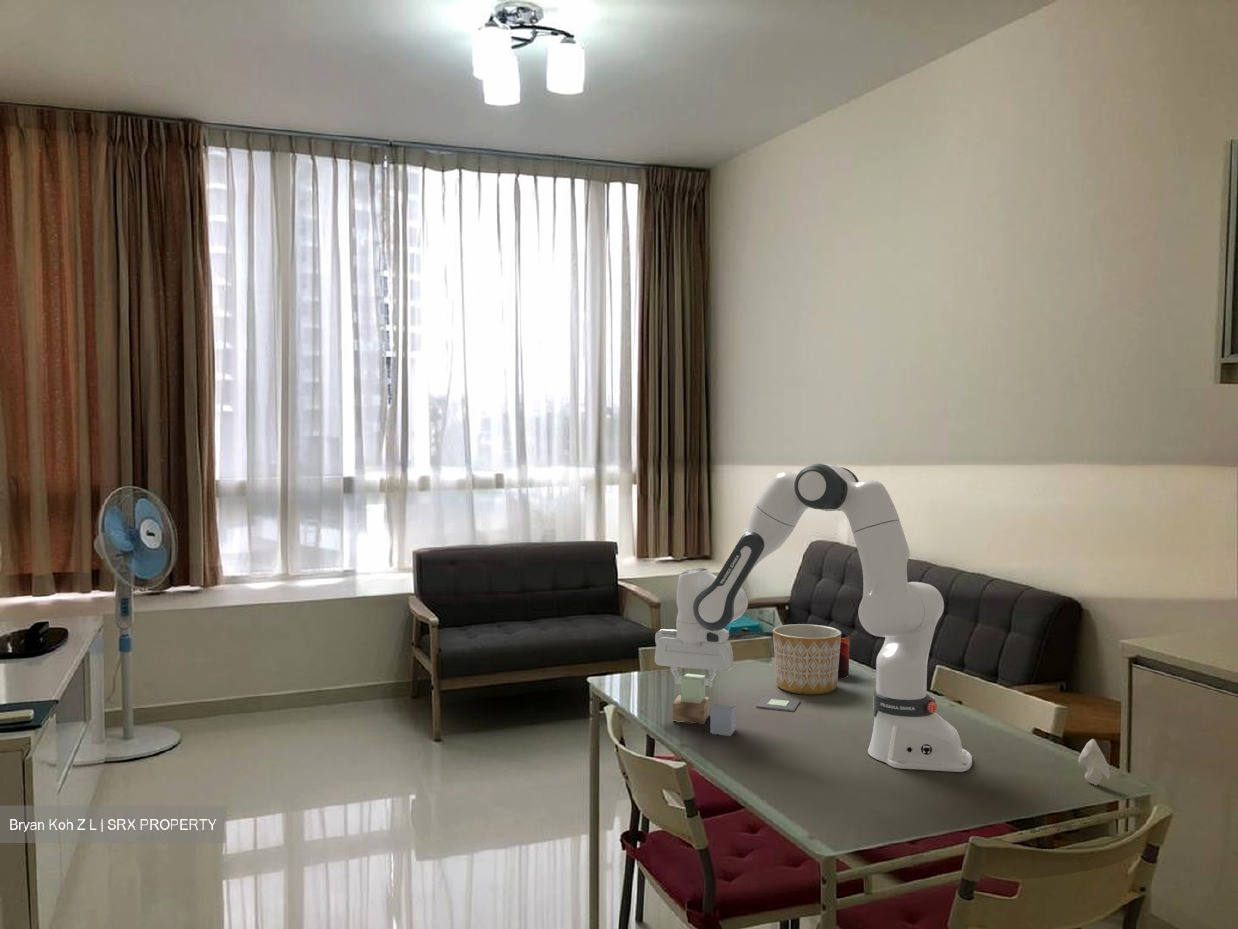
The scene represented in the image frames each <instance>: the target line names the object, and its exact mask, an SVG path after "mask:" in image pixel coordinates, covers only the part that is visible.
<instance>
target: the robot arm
mask: <svg viewBox="0 0 1238 929" xmlns="http://www.w3.org/2000/svg"><path fill="white" fill-rule="evenodd" d="M808 509H813V510H820V511H825V512H834V511H837V512H838V511H841V512H842V513H844V515H845V516H846V518H847V520H848V523H849V527H850V529H851V532H852V536H853V539H854V542H855V545H856V549H857V553H858V556H859V560H860V563H861V569H862V579H863V582H862V583H863V586H862V587H863V591H862V598H861V601H860V603H859V606H858V612H857V613H858V619H859V620H858V621H859V622H860V625H861V626H862V628H863V629H864V630H865V631H866V632H867V633H868V634H870V635H871V636H872V635H873V636H874V637H880V638H881V637H883V638H885V639H884V642H883V644H882V646H881V648H880V651H878V654H877V656H876V659H875V660H876V662H875V668H876V669H875V690H874V693H873V696H872V702H873V704H872V709H873V710H872V713H873V717H874V721H873V728H872V735H871V738H870V742H869V746H868V749H867V753H868V755H869V756H870V757H871V758H874V759H875V760H878V761H880V762H883V763H886V764H887V765H888V766H890V767H891V768H895V769H907V770H921V771H922V770H923V771H936V772H937V771H941V772H956V773H964V772H966V771H969V770H970V769H971V767H972V766H973V757H972V755H971V753H970V752H969V751H968V750H966V749H964V748H963V747H962V741H961V740H962V739H961V737H960V735H959V732H958V730H957V729H956V728H955V727H954V726H953V725H951V723H949V722H948V721H946V720H945V719H944V718H942V717H941V716H940V715H939V714H938V713H936V712H937V710H938V705H937V702H936V700H935V698H936V697H935V696H930V694H927V679H928V678H927V677H928V675H927V674H928V660H929V654H930V650H931V645H932V642H933V637H934V635H935V634H934V633H935V630H936V626H937V624H938V622H939V620H940V618H942V615H943V613H944V609H945V603H944V597H943V596H942V593H941V592H940V591H939V589H937V588H936V587H935V586H933V585H932V584H929V583H925V582H920V581H909V580H908V571H907V570H908V568H907V567H908V561H909V559H910V554H911V551H910V548H909V546H908V545H909V544H908V542H907V538H906V535H905V533H904V529H903V526H902V524H901V520H900V517H899V513H898V512H897V509H896V507H895V504H894V502H893V500H892V498H891V496H890V494H889V491H888V490H887V488H886V487H885V485H884V484H883V483H882V482H879V481H878V480H874V479H866V480H859V479H858V477H857V476H856V474H854V473H853V471H851V470H850V469H848V468H845V467H842V466H838V465H835V464H831V463H830V464H829V463H813V464H810V465H807V466H805V467H804V468H802V469H801V470H800V471H799V472H798V473H797V474H796V473H794V472H790V471H783V472H779V473H778V474H776V475H775V476H774V478H772V480H771V481H769V483H768V484H767V486H766V487H765V488H764V490H763V492H761V495H760V496H759V498H758V499H757V501H756V503H755V505H754V507H753V508H752V510H751V512H750V515H749V517H748V518H747V521H746V523H745V525H744V527H743V529H742V532H741V534H740V536H739V538H738V540H737V542H736V545H735V546H734V548H733V550H732V552H731V554H729V556H728V558H727V560H726V561H725V563H724V565H723V566H722V568H721V569H720V571H719V573H718V575H715V574H713V573H712V572H711V570H709V568H705V567H704V568H703V567H697V568H692V569H687V570H685V571H683V572H682V573H680V574H679V576H678V579H677V580H678V581H677V586H676V587H677V588H676V606H677V615H676V623H675V624H676V626H675V628H676V629H665V628H661V629H660V630H657V631H656V633H655V636H654V642H655V651H654V662H655V664H656V665H657V666H663V667H665V666H666V667H670V673H671V674H672V676H673V677H674V685H681V678H682V677H683V676H682V675H680V674H679V672H678V669H679V668H685V669H697V670H708V671H709V675H710V676H709V678H705V688H712V687H713V679H714V678H715V676H716V675H717V672H729V671H730V670H731V669H733V666H734V655H733V654H734V653H733V646H732V644H731V642H730V641H729V640H728V639H729V637H730V632H729V630H727V629H725V628H726V627H727V626H728V625H729V624H731V623H733V622H735V621H736V620H737V619H739V618H741V617H742V616H743V615H745V613H746V611H748V607H749V597H748V594H747V592H746V590H745V589H744V588H743V585H744V584H745V582H746V581H747V579H748V578H749V576H750V574H751V572H752V571H753V570H754V568H755V567H756V566H757V565H758V564H759V563H760V562H761V561H762V560H764V559H765V558H766V557H768V556H769V555H771V554H773V553H774V552H775V551H777V550H778V549H780V548H781V547H782V546H783V544H784V543H785V542H786V541H787V539H788V538H789V537H790V536H791V535H792V533H793V531H794V530H795V527H796V526H797V524H798V522H799V520H800V518H801V517H802V516H803V514H804V513H805V512H806V510H808Z"/></svg>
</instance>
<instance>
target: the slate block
mask: <svg viewBox="0 0 1238 929" xmlns="http://www.w3.org/2000/svg"><path fill="white" fill-rule="evenodd" d="M736 708H737V707H736V706H735V705H729V704H728V705H727V704H719V703H715V704H714V705H713V706H712V707H711V709H710V733H712V734H711V735H717V734H719V736H726V737H732V735H733V734H734V733H735V731H736V720H737V719H736V714H737V713H736V710H737V709H736Z"/></svg>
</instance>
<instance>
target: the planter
mask: <svg viewBox="0 0 1238 929" xmlns="http://www.w3.org/2000/svg"><path fill="white" fill-rule="evenodd" d="M841 633H842V631H841V630H839V629H838V628H836V627H832V626H827V625H820V624H819V625H818V624H810V623H809V624H808V623H807V624H806V623H801V624H800V623H797V624H784V625H783V624H782V625H778V626H776V627H774V628H773V629H772V636H773V638H772V639H773V640H772V642H773V653H774V670H775V671H774V672H775V682H776V685H777V686H778V687H779V688H780V689H781V690H783V691H785V692H788V693H792V694H797V695H810V696H812V695H813V696H815V695H824V694H829V693H832V692H833V691H834V690H835V689H836V688H837V686H838V680H839V679H838V667H839V655H840V644H841Z"/></svg>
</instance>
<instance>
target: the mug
mask: <svg viewBox="0 0 1238 929" xmlns="http://www.w3.org/2000/svg"><path fill="white" fill-rule="evenodd" d="M847 676H848V677H849V676H850V635H849V634H847V633H843V632H841V644H840V655H839V667H838V679H837V680H840V679H841V678H842V679H846V678H845V677H847ZM848 677H847V678H848Z"/></svg>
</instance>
